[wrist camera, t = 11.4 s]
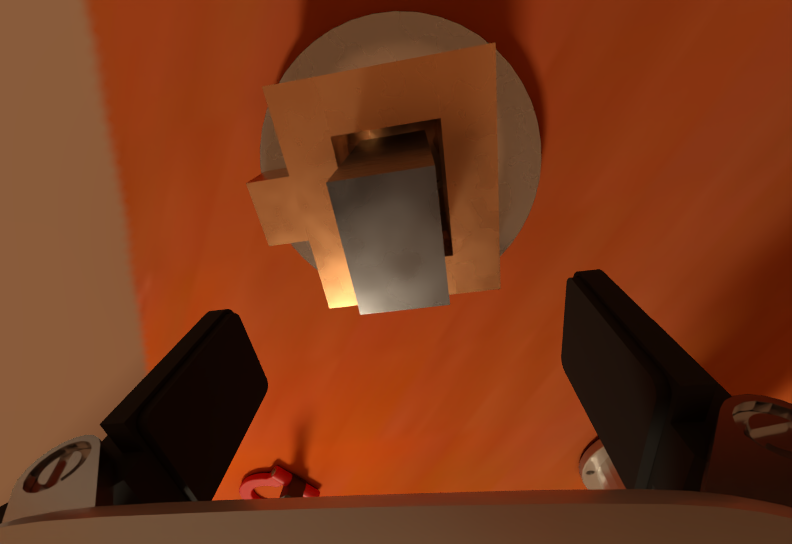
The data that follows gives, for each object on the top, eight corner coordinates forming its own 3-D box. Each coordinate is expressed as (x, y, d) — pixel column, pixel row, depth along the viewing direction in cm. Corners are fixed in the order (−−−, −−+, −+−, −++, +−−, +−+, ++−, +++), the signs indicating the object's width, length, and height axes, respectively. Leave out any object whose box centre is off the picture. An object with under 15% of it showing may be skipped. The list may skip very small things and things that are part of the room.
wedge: (424, 129, 21) (435, 165, 12) (435, 222, 24) (449, 304, 15) (360, 140, 21) (326, 182, 13) (378, 230, 24) (360, 314, 16)
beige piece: (538, -16, 19) (583, -49, 14) (530, 273, 27) (556, 315, 22) (226, 48, 21) (170, 39, 16) (310, 299, 29) (290, 342, 24)
